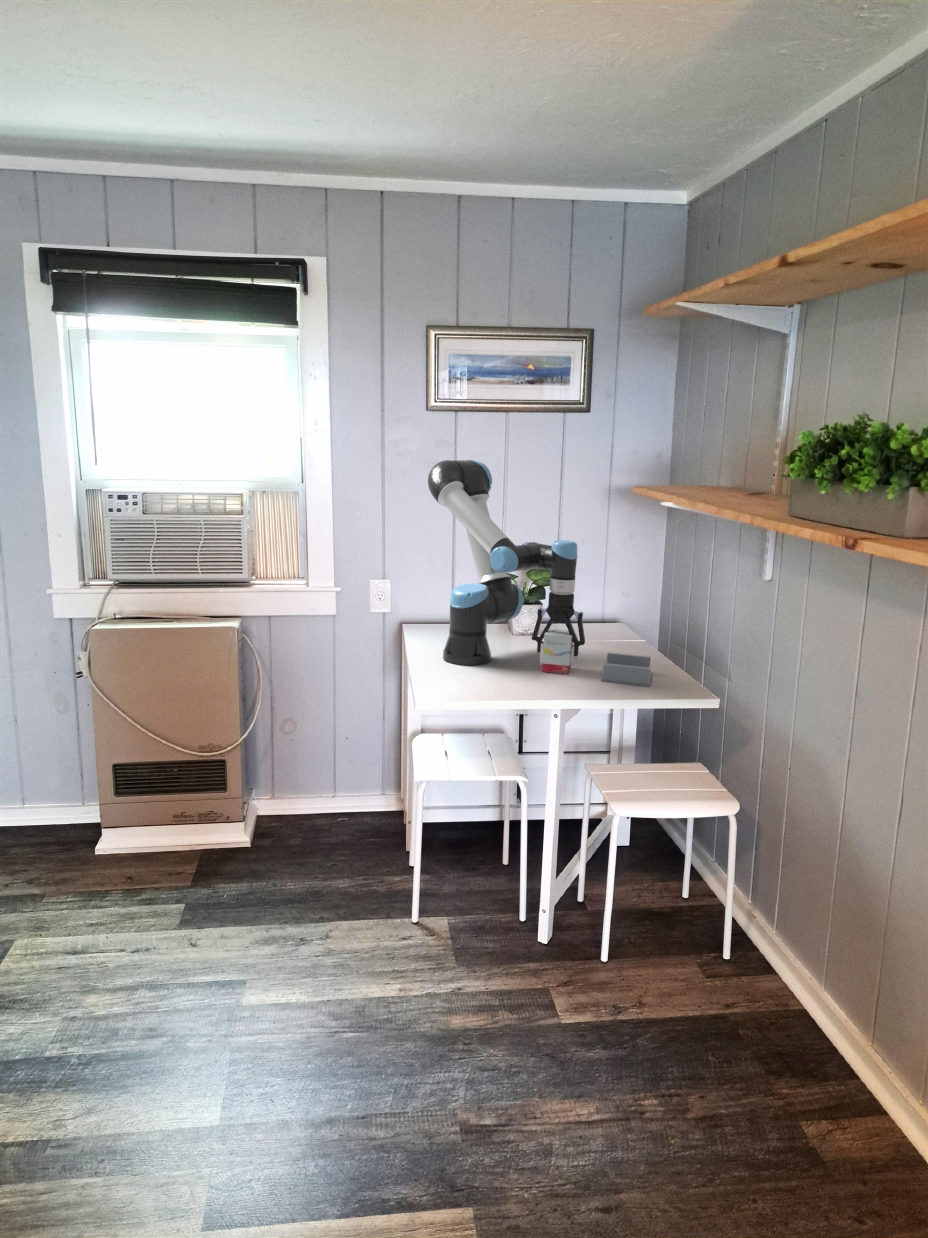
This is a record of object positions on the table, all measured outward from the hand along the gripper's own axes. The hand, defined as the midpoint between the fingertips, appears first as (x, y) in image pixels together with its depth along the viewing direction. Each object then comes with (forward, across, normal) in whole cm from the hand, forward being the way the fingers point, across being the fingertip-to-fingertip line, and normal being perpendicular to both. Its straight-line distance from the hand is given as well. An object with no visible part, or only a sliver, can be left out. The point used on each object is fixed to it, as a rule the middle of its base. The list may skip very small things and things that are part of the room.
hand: (556, 664), depth 258 cm
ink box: (+2, 0, 0) cm, 2 cm away
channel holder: (+1, +21, 0) cm, 21 cm away
